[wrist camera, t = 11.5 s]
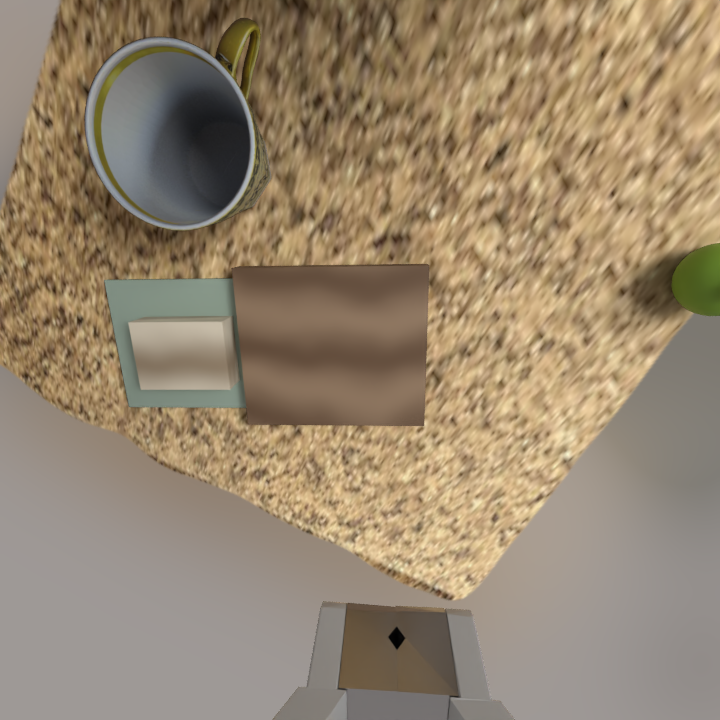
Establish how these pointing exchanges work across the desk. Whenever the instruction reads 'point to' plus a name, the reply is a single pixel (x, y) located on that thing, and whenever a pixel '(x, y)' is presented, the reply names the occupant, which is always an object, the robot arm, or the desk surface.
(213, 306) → the rubber mat
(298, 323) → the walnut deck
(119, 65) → the ceramic cup
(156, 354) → the ash tile
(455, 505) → the desk surface
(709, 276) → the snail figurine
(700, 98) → the desk surface
